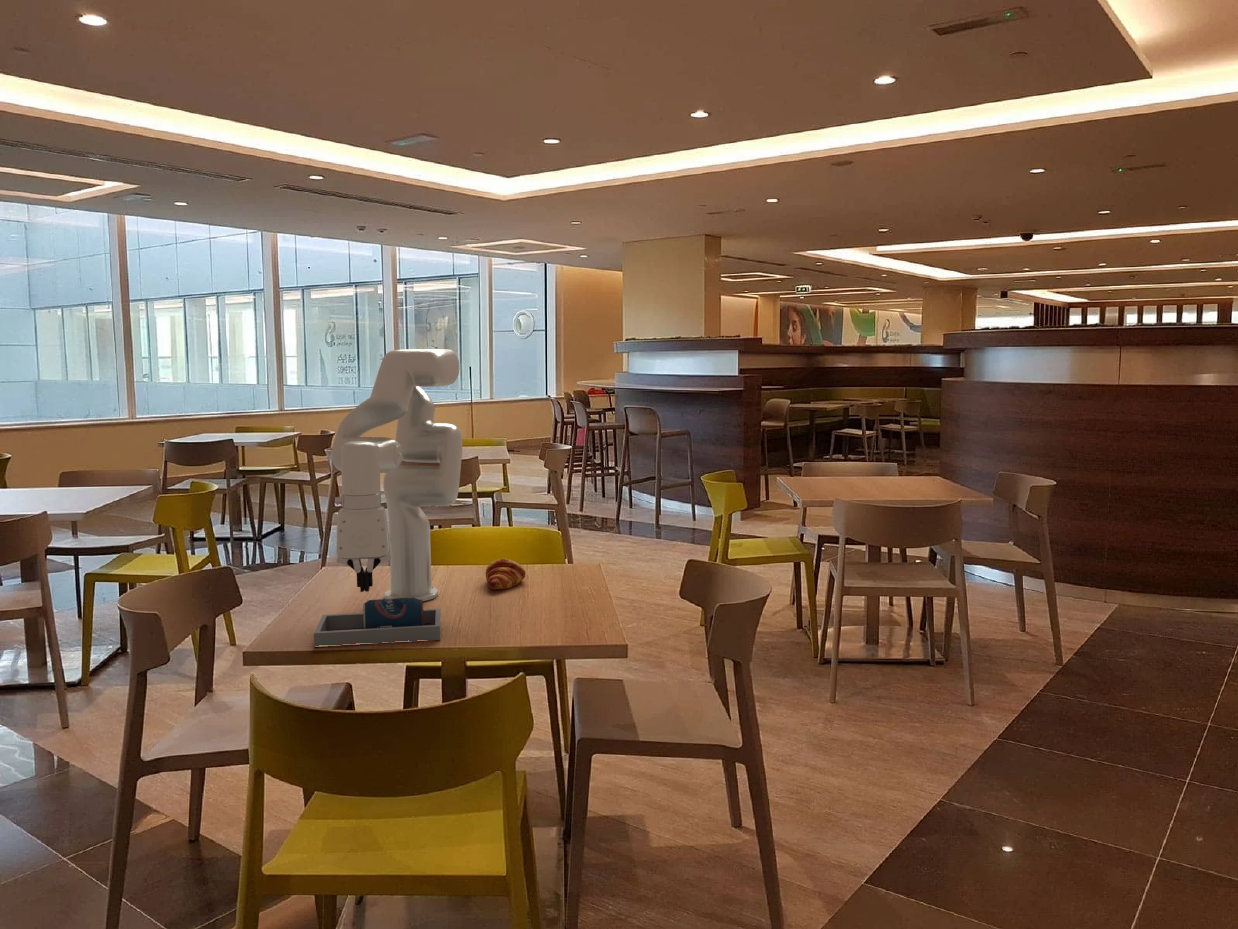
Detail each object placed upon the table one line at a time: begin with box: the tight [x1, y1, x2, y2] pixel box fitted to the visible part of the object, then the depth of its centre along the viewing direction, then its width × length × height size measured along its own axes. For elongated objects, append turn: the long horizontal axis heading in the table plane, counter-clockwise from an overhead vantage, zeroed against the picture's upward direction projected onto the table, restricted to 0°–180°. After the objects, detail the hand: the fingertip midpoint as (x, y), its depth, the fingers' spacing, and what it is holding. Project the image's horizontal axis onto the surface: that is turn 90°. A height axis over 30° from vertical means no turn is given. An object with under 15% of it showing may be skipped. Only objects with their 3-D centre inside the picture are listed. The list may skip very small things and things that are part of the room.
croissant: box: [485, 558, 527, 590], centre depth 227 cm, size 21×10×8 cm, turn 173°
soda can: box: [362, 597, 424, 629], centre depth 187 cm, size 7×7×12 cm
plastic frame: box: [313, 608, 442, 647], centre depth 185 cm, size 13×24×3 cm, turn 101°
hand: (365, 590), depth 183 cm, fingers closed
